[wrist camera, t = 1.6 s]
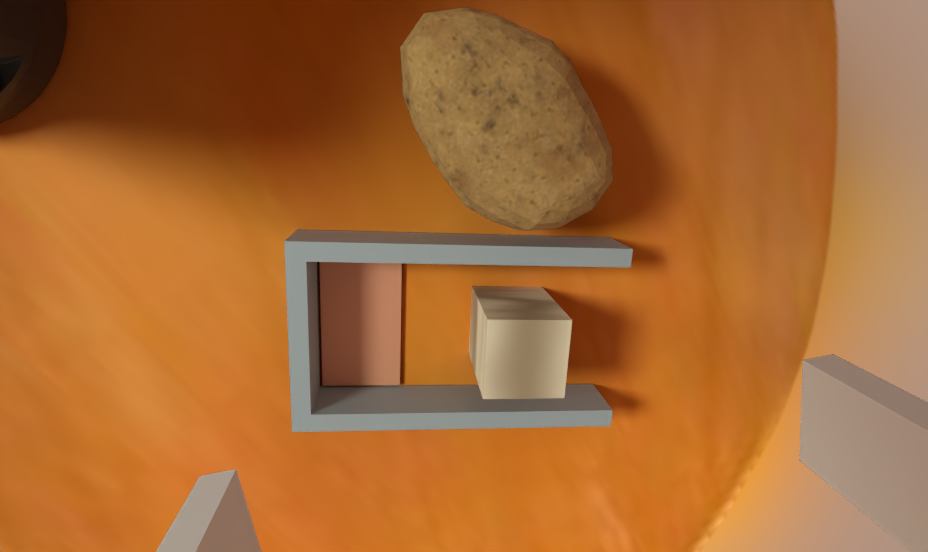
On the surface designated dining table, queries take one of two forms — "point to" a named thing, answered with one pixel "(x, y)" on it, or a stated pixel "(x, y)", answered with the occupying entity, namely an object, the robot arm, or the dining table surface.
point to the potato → (504, 119)
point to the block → (518, 343)
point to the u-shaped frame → (379, 331)
